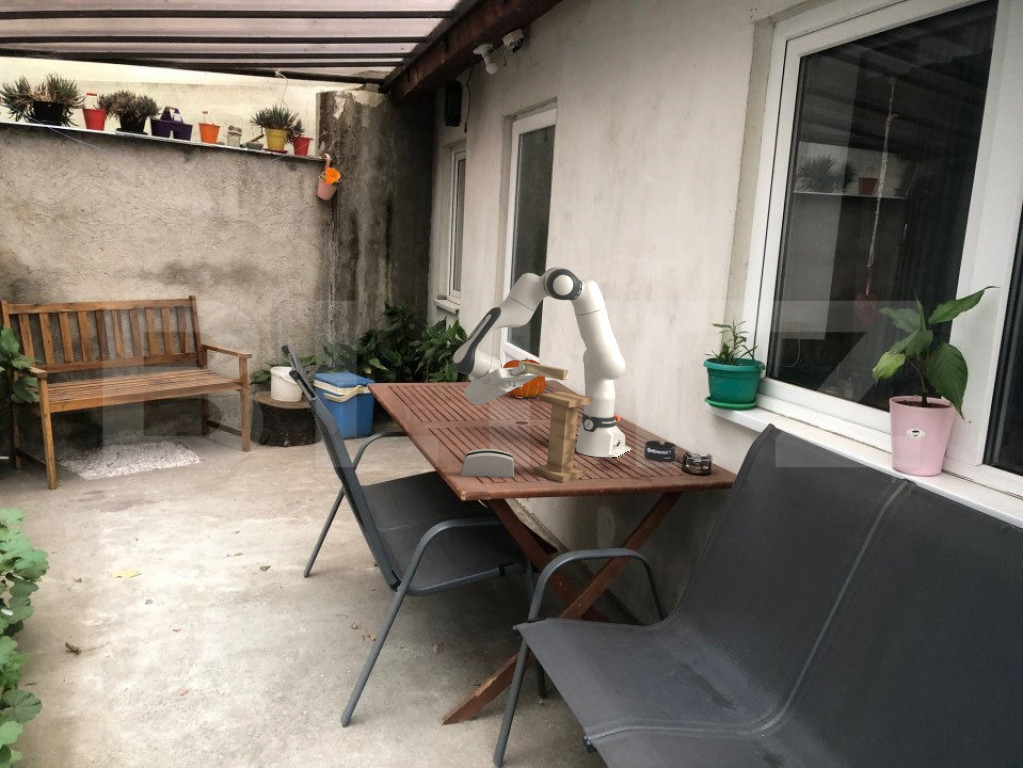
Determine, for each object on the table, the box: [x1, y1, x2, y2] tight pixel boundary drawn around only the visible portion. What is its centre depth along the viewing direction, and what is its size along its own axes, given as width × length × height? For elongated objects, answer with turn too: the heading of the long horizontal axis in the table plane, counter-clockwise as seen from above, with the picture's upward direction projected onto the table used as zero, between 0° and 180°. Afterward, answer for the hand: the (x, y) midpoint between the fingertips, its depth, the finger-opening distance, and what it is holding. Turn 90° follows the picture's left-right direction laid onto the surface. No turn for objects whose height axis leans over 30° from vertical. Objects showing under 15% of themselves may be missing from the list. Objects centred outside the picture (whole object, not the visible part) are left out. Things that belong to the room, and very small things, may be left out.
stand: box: [532, 391, 592, 484], centre depth 233 cm, size 12×12×26 cm
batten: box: [519, 361, 570, 381], centre depth 236 cm, size 2×19×3 cm, turn 48°
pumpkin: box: [502, 357, 547, 398], centre depth 364 cm, size 23×23×20 cm
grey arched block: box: [460, 448, 515, 478], centre depth 228 cm, size 17×5×10 cm, turn 96°
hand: (529, 366), depth 240 cm, fingers closed on batten, 2 cm apart
